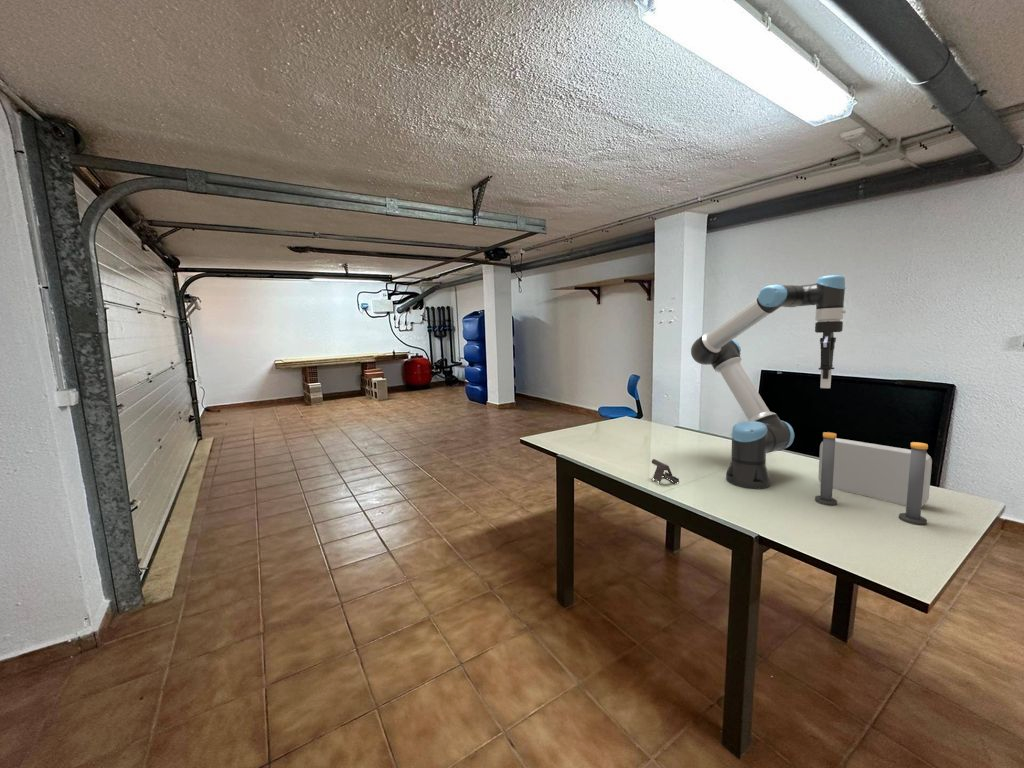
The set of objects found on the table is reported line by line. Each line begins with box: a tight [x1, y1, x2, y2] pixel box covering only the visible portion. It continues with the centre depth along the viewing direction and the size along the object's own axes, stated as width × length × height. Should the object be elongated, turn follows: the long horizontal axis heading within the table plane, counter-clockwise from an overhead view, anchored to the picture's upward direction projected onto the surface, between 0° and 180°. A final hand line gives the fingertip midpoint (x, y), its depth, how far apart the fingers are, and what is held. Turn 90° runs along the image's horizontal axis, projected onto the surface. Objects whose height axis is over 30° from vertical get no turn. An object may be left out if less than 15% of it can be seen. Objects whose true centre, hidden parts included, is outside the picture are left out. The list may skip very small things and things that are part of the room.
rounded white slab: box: [817, 437, 933, 507], centre depth 139 cm, size 29×8×18 cm, turn 33°
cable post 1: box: [814, 431, 838, 507], centre depth 134 cm, size 6×6×24 cm
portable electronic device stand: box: [651, 458, 680, 484], centre depth 159 cm, size 9×8×8 cm
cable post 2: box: [898, 441, 929, 526], centre depth 119 cm, size 6×6×24 cm
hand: (825, 387), depth 140 cm, fingers closed
